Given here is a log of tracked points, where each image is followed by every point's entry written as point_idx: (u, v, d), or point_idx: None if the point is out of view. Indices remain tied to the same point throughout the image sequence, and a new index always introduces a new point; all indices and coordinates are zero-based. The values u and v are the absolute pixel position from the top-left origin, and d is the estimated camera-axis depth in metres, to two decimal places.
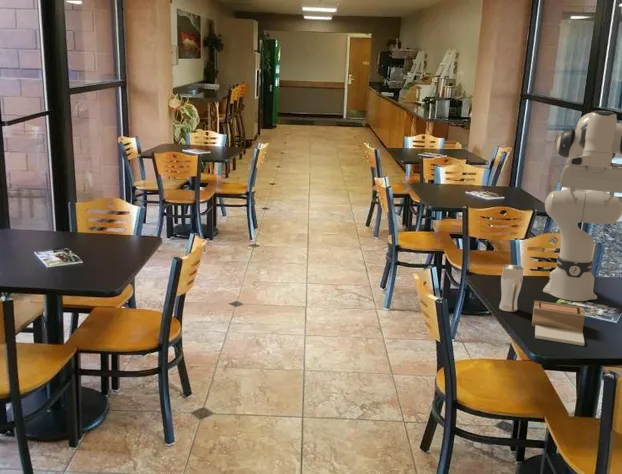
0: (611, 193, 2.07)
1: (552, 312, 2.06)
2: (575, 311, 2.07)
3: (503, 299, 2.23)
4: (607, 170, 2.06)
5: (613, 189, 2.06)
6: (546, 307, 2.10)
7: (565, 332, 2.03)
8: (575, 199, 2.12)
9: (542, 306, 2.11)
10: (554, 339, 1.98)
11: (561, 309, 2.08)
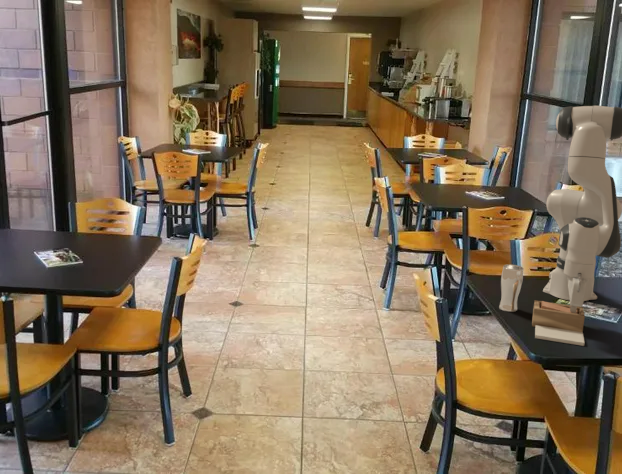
0: None
1: (552, 312, 2.06)
2: None
3: (503, 299, 2.23)
4: (572, 279, 2.03)
5: None
6: (547, 305, 2.10)
7: (565, 332, 2.03)
8: (570, 306, 2.09)
9: (543, 304, 2.10)
10: (554, 339, 1.98)
11: (561, 310, 2.08)
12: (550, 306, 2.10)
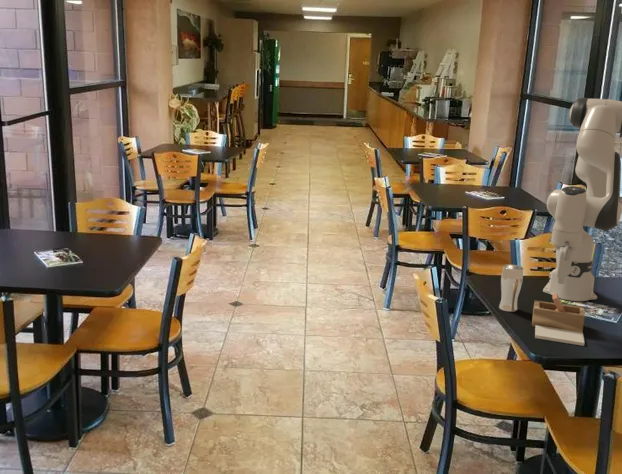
0: None
1: (552, 312, 2.06)
2: None
3: (503, 299, 2.23)
4: (559, 248, 2.02)
5: (557, 268, 2.02)
6: (559, 301, 2.08)
7: (565, 332, 2.03)
8: (557, 274, 2.10)
9: (557, 297, 2.08)
10: (554, 339, 1.98)
11: None
12: (560, 303, 2.08)
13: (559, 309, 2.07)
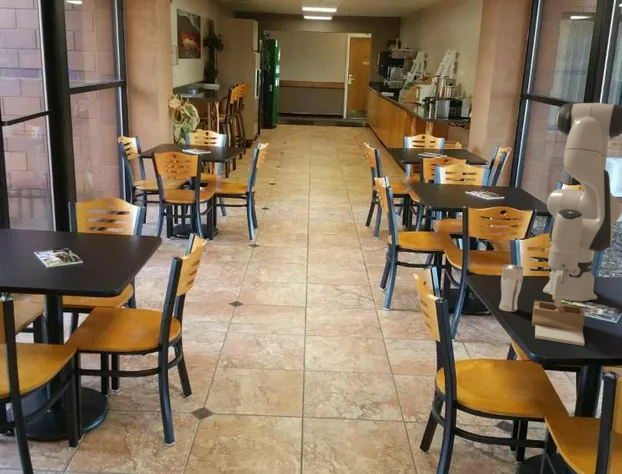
0: None
1: (552, 312, 2.06)
2: None
3: (503, 299, 2.23)
4: (556, 270, 2.04)
5: None
6: None
7: (565, 332, 2.03)
8: None
9: None
10: (554, 339, 1.98)
11: None
12: None
13: (559, 309, 2.07)
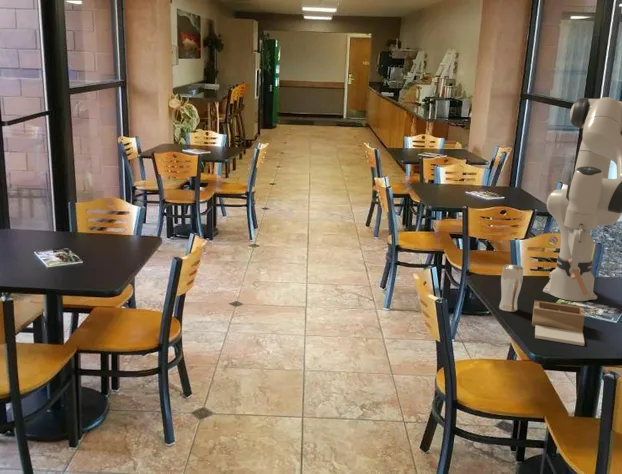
0: None
1: (552, 312, 2.06)
2: None
3: (503, 299, 2.23)
4: (573, 231, 1.93)
5: (570, 251, 1.92)
6: None
7: (565, 332, 2.03)
8: None
9: None
10: (554, 339, 1.98)
11: (581, 278, 1.96)
12: None
13: (575, 273, 1.96)
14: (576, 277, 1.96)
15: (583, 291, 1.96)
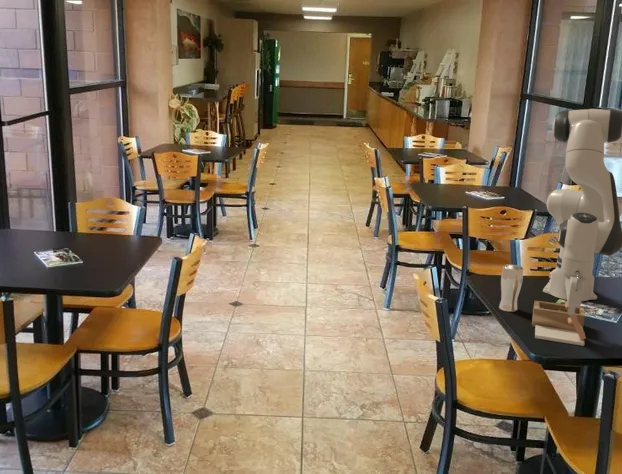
0: None
1: (552, 312, 2.06)
2: (584, 335, 1.98)
3: (503, 299, 2.23)
4: (569, 277, 1.94)
5: (567, 298, 1.93)
6: None
7: (565, 332, 2.03)
8: None
9: None
10: (554, 339, 1.98)
11: (578, 323, 1.97)
12: None
13: (572, 318, 1.97)
14: (573, 322, 1.97)
15: (580, 336, 1.97)
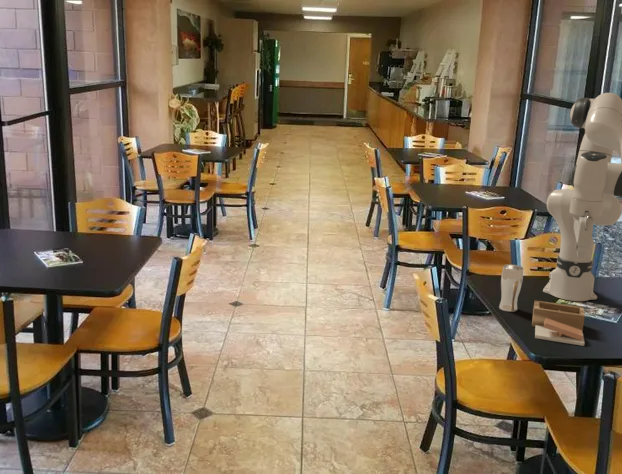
0: None
1: (552, 312, 2.06)
2: (580, 333, 1.98)
3: (503, 299, 2.23)
4: (578, 218, 1.89)
5: (576, 239, 1.88)
6: (551, 323, 2.00)
7: None
8: (575, 245, 1.99)
9: (547, 321, 2.01)
10: (554, 339, 1.98)
11: (566, 329, 1.99)
12: (554, 324, 2.00)
13: (557, 330, 1.99)
14: (561, 332, 1.99)
15: (577, 337, 1.97)
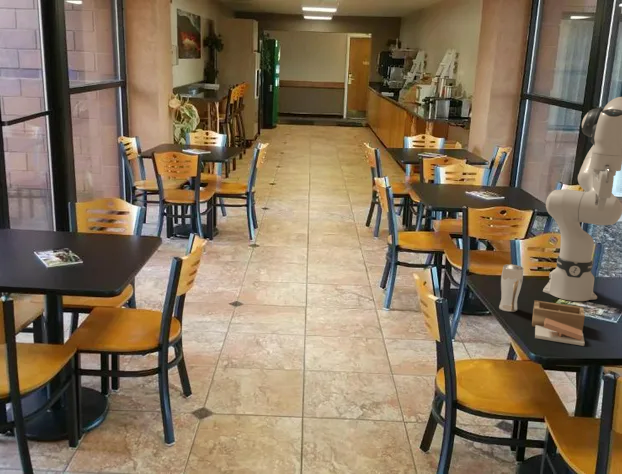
0: (599, 197, 1.97)
1: (552, 312, 2.06)
2: (580, 333, 1.98)
3: (503, 299, 2.23)
4: (599, 172, 1.97)
5: (597, 192, 1.96)
6: (551, 323, 2.00)
7: None
8: (595, 201, 2.07)
9: (547, 321, 2.01)
10: (554, 339, 1.98)
11: (566, 329, 1.99)
12: (554, 324, 2.00)
13: (557, 330, 1.99)
14: (561, 332, 1.99)
15: (577, 337, 1.97)
